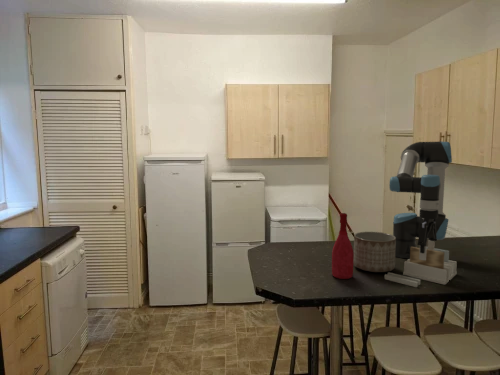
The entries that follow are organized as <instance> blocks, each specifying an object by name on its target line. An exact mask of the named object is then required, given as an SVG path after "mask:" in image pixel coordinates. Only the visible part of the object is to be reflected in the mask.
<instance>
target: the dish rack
mask: <svg viewBox="0 0 500 375" xmlns="http://www.w3.org/2000/svg"><path fill="white" fill-rule="evenodd" d="M427 249H428V246H427ZM434 251H440V252H444V269H440V268H435V267H431V266H426V265H421V264H417V263H412V262H410V258H407V260H405V261H404V262H403V263H404V264H403V272H402V276H406V277H410V278H415V279H419V280H423V281H428V282H432V283H437V284H441V285H447V284H448V283H449V280H450V281H451V280H452V279H453V278H454V277H455V276H456V275H457V264H458V263H457V261H455V260H450V250H447V249H441V248H435V247H434Z"/></svg>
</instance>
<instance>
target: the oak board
mask: <svg viewBox="0 0 500 375" xmlns="http://www.w3.org/2000/svg"><path fill="white" fill-rule="evenodd" d="M419 250H420V247H418V246H417V247H411V248H410V258H409V259H410V262H412V263H417V264H421V265H426V266H431V267H435V268H440V269H444V252H440V251H434V250H429V249H427V251H426V261H425V260H420V259H419Z"/></svg>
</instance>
